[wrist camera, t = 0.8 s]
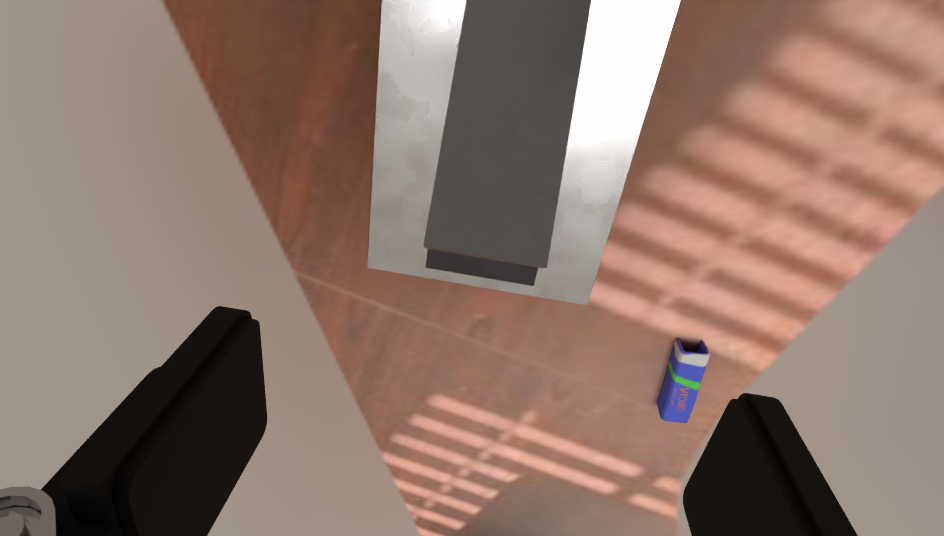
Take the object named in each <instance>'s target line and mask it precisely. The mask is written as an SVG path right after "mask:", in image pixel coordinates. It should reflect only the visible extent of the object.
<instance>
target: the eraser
mask: <svg viewBox="0 0 944 536" xmlns="http://www.w3.org/2000/svg"><path fill="white" fill-rule="evenodd" d="M709 357H710V352H709V350H708V349H707V347H706V345H705V343H704V342H703V341H702V340H701V342H700V345H699V348H698V351H697V353H695V352H686V351H684V350H683V347H682V345H681V342H680V340H679V338H677V339H676V340H675V344H674V347H673V350H672V353H671V356H670V360H669V364H668V368H667V372H666V376H665V380H664V384H663V387H662V390H661V393H660V395H659V398H658V402H657V405H658V409H659V414H660V418H661V419H663V420H664V421H672V422H681V423H686V422H687V421H688V419H689V416H690V414H691V411H692V409H693V406H694V403H695V401H696V397H697V394H698V390H699V387H700V383H701V380H702V377H703V374H704V371H705V368H706V365H707V362H708V360H709Z"/></svg>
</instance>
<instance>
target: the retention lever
mask: <svg viewBox="0 0 944 536" xmlns="http://www.w3.org/2000/svg"><path fill="white" fill-rule="evenodd" d="M591 1H592V0H466V5H465V11H464V17H463V23H462V28H461V34H460V40H459V45H458V51H457V57H456V62H455V68H454V74H453V79H452V85H451V91H450V96H449V102H448V108H447V114H446V119H445V125H444V131H443V136H442V142H441V148H440V153H439V159H438V165H437V170H436V176H435V182H434V187H433V193H432V199H431V205H430V210H429V216H428V222H427V227H426V233H425V239H424V244H423V247H424V248H426V249H432V250H438V251H444V252H450V253H455V254H461V255H467V256H473V257H479V258H485V259H490V260H496V261H502V262H508V263H514V264H519V265H525V266H531V267H537V268H543V269H544V268H547V264H548V258H549V252H550V246H551V240H552V234H553V228H554V222H555V216H556V210H557V204H558V198H559V192H560V186H561V180H562V174H563V168H564V162H565V156H566V150H567V144H568V138H569V132H570V126H571V120H572V114H573V108H574V102H575V96H576V90H577V84H578V78H579V72H580V66H581V60H582V54H583V48H584V42H585V36H586V30H587V24H588V18H589V13H590V7H591Z"/></svg>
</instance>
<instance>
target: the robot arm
mask: <svg viewBox="0 0 944 536" xmlns="http://www.w3.org/2000/svg"><path fill="white" fill-rule="evenodd" d="M266 425H267V410H266V398H265V385H264V373H263V361H262V348H261V336H260V325H259V322H258V321H257V320H254V319H252V317H251V314H250V312H248V311H246V310H239V309H233V308H228V307H221V306H219V307H216V308H215V309H213V310H212V311H211V312H210V313H209V315H208V316H207V317H206V318H205V319H204V320H203V321H202V322H201V324H200V325H199V326H198V327H197V328H196V329H195V330H194V331H193V332H192V333H191V334H190V335H189V337H188V338H187V339H186V340H185V341H184V342H183V343H182V344H181V345H180V346H179V348H178V349H177V350H176V351H175V352H174V353H173V354H172V355H171V356H170V358H169V359H168V360H167V361H166V362H165V363H164V364H163V365H162V366H161V367H158V368H156V369H154V370H152V371H151V372H150V373H149V374H148V375H147V376H146V377H145V378H144V379H143V380H142V381H141V382H140V383H139V384H138V385H137V386H136V388H135V389H134V390H133V391H132V392H131V393H130V394H129V395H128V396H127V397H126V398H125V400H123V402H122V403H121V404H120V405H119V406H118V407H117V408H116V409H115V410H114V411H113V412H112V413H111V415H110V416H109V417H108V418H107V419H106V420H105V421H104V422H103V423H102V424H101V425H100V426H99V427H98V429H97V430H96V431H95V432H94V433H93V434H92V435H91V436H90V437H89V439H87V441H85V443H84V444H83V445H82V446H81V447H80V448H79V449H78V450H77V451H76V452H75V453H74V455H73V456H72V457H71V458H70V459H69V460H68V461H67V462H66V463H65V464H64V466H62V467H61V469H60V470H59V471H58V472H57V473H56V474H55V475H54V476H53V477H52V478H51V479H50V480H49V481H48V483H47V484H46V485H45V486H44V487H43V488H42V489H41V490H39V489H35V488H31V487H10V488H5V489H0V536H207V535H208V533H209V531H210V529H211V528H212V526H213V524H214V522H215V520H216V519H217V517H218V515H219V513H220V512H221V510H222V508H223V506H224V504H225V503H226V501H227V499H228V497H229V496H230V494H231V492H232V490H233V488H234V487H235V485H236V483H237V481H238V480H239V478H240V476H241V474H242V472H243V471H244V469H245V467H246V465H247V464H248V462H249V460H250V458H251V456H252V455H253V453H254V451H255V449H256V448H257V446H258V444H259V442H260V440H261V439H262V437H263V434H264V432H265V429H266ZM683 505H684V509H685V513H686V517H687V520H688V523H689V527H690V530H691V534H692V536H857V534H856V532H855V530H854V529H853V527H852V525H851V524H850V522H849V520H848V518H847V517H846V515H845V513H844V511H843V509H842V508H841V506H840V504H839V503H838V501H837V499H836V497H835V496H834V494H833V492H832V490H831V489H830V487H829V485H828V483H827V482H826V480H825V478H824V477H823V475H822V473H821V471H820V469H819V468H818V466H817V464H816V463H815V461H814V459H813V457H812V456H811V454H810V452H809V451H808V449H807V447H806V445H805V443H804V442H803V440H802V438H801V437H800V435H799V433H798V431H797V429H796V428H795V426H794V424H793V422H792V421H791V419H790V417H789V416H788V414H787V412H786V410H785V409H784V407H783V405H782V404H781V402H780V401H779V400H778V399H776V398H773V397H767V396H761V395H755V394H749V393H743V394H742V395H740V396H739V398H738V399H732V400H731V401H730V402H729V403H728V405H727V407H726V409H725V411H724V413H723V415H722V417H721V419H720V421H719V423H718V425H717V426H716V428H715V430H714V432H713V434H712V437H711V438H710V440H709V442H708V444H707V446H706V448H705V450H704V452H703V454H702V456H701V458H700V460H699V462H698V464H697V466H696V467H695V469H694V472H693V474H692V475H691V477H690V479H689V481H688V483H687V485H686V487H685V490H684V495H683Z"/></svg>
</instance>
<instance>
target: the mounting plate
mask: <svg viewBox="0 0 944 536" xmlns="http://www.w3.org/2000/svg"><path fill="white" fill-rule="evenodd" d="M679 4H680V0H592V1H591V7H590V13H589V18H588V24H587V30H586V36H585V42H584V48H583V54H582V60H581V66H580V72H579V78H578V84H577V90H576V96H575V102H574V108H573V114H572V120H571V126H570V132H569V138H568V144H567V150H566V156H565V162H564V168H563V174H562V180H561V186H560V192H559V198H558V204H557V210H556V216H555V222H554V228H553V234H552V240H551V246H550V252H549V258H548V264H547V268H544V269H543V268H537V267H531V266H525V265H519V264H514V263H508V262H502V261H496V260H490V259H485V258H479V257H473V256H467V255H461V254H455V253H450V252H444V251H438V250H432V249H426V248H424V247H423V244H424V239H425V233H426V227H427V222H428V216H429V210H430V205H431V199H432V193H433V187H434V182H435V176H436V170H437V165H438V159H439V153H440V148H441V142H442V136H443V131H444V125H445V119H446V114H447V108H448V102H449V96H450V91H451V85H452V79H453V74H454V68H455V62H456V57H457V51H458V45H459V40H460V34H461V28H462V23H463V17H464V11H465V5H466V0H382V10H381V29H380V47H379V66H378V84H377V103H376V121H375V140H374V159H373V177H372V196H371V214H370V233H369V251H368V268H373V269H379V270H384V271H390V272H396V273H402V274H408V275H413V276H419V277H425V278H431V279H437V280H442V281H448V282H454V283H460V284H466V285H471V286H477V287H483V288H489V289H495V290H500V291H506V292H512V293H518V294H524V295H529V296H535V297H541V298H547V299H553V300H558V301H564V302H570V303H576V304H582V305H587V304H588V301H589V298H590V294H591V291H592V288H593V285H594V281H595V278H596V275H597V271H598V268H599V265H600V262H601V258H602V255H603V252H604V249H605V245H606V242H607V239H608V236H609V232H610V229H611V226H612V222H613V219H614V216H615V213H616V209H617V206H618V203H619V200H620V196H621V193H622V190H623V187H624V183H625V180H626V177H627V173H628V170H629V167H630V164H631V160H632V157H633V154H634V151H635V147H636V144H637V141H638V138H639V134H640V131H641V128H642V124H643V121H644V118H645V115H646V111H647V108H648V105H649V102H650V98H651V95H652V92H653V89H654V85H655V82H656V79H657V75H658V72H659V69H660V66H661V62H662V59H663V56H664V53H665V49H666V46H667V43H668V40H669V36H670V33H671V30H672V26H673V23H674V20H675V17H676V13H677V10H678V7H679Z"/></svg>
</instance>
